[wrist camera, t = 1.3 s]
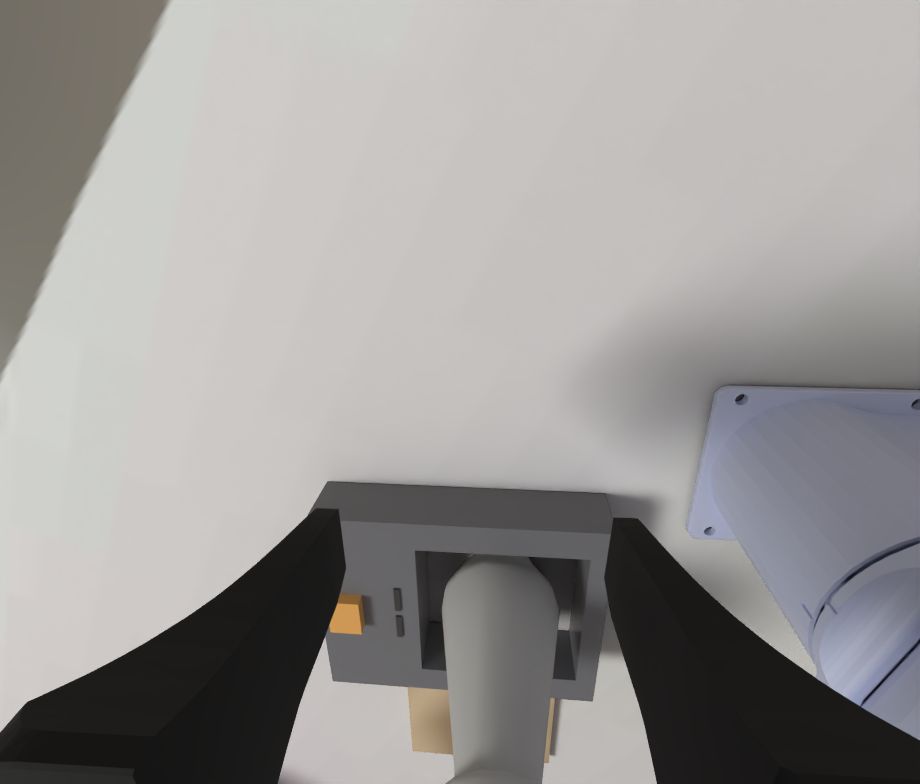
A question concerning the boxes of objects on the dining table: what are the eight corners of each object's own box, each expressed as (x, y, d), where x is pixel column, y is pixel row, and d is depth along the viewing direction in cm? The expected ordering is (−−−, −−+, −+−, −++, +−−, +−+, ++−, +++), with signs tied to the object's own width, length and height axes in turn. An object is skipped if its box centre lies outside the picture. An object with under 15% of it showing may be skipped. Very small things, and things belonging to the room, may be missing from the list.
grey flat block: (605, 493, 24) (620, 544, 21) (584, 651, 29) (594, 712, 25) (327, 481, 25) (300, 527, 22) (349, 634, 30) (329, 691, 27)
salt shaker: (456, 521, 26) (413, 818, 14) (565, 541, 26) (614, 857, 14) (441, 602, 28) (392, 913, 16) (540, 620, 28) (564, 947, 16)
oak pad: (557, 661, 29) (558, 668, 29) (547, 755, 33) (548, 763, 32) (406, 650, 30) (405, 657, 30) (414, 743, 34) (412, 751, 33)
